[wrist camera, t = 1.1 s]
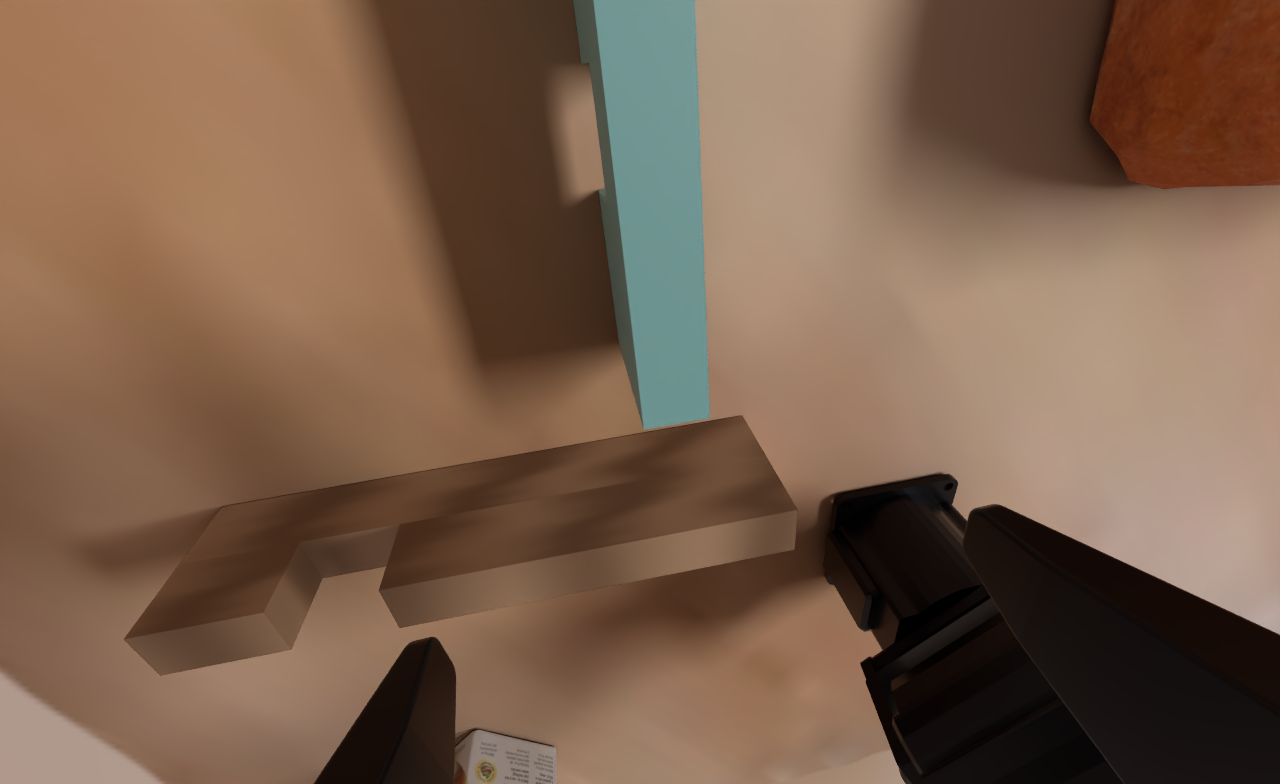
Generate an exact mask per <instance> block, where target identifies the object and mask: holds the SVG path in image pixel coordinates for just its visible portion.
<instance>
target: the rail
mask: <svg viewBox="0 0 1280 784" xmlns="http://www.w3.org/2000/svg"><path fill="white" fill-rule="evenodd" d="M797 512H798V510H797V508H796V506H795V505H794V503H793V501H792V499H791V498H790V496H789V494H788V493H787V491H786V489H785V488H784V486H783V484H782V482H781V481H780V479H779V477H778V476H777V474H776V472H775V470H774V469H773V467H772V465H771V464H770V462H769V460H768V459H767V457H766V455H765V453H764V452H763V450H762V448H761V447H760V445H759V443H758V442H757V440H756V438H755V436H754V435H753V433H752V431H751V430H750V428H749V426H748V425H747V423H746V421H745V419H744V418H743V416H737V417H732V418H726V419H720V420H714V421H709V422H703V423H697V424H692V425H686V426H680V427H674V428H669V429H663V430H657V431H652V432H646V433H640V434H635V435H629V436H623V437H617V438H612V439H606V440H600V441H595V442H589V443H583V444H577V445H572V446H566V447H560V448H555V449H549V450H543V451H538V452H532V453H526V454H520V455H515V456H509V457H503V458H498V459H492V460H486V461H480V462H475V463H469V464H463V465H458V466H452V467H446V468H441V469H435V470H429V471H423V472H418V473H412V474H406V475H401V476H395V477H389V478H384V479H378V480H372V481H366V482H361V483H355V484H349V485H344V486H338V487H332V488H326V489H321V490H315V491H309V492H304V493H298V494H292V495H287V496H281V497H275V498H269V499H264V500H258V501H252V502H247V503H241V504H235V505H229V506H224V507H221V509H220V510H219V511H218V513H217V514H216V515H215V517H214V518H213V520H212V521H211V522H210V524H209V525H208V526H207V528H206V529H205V530H204V532H203V533H202V534H201V536H200V537H199V538H198V540H197V541H196V542H195V544H194V545H193V547H192V548H191V549H190V551H189V552H188V553H187V555H186V556H185V557H184V559H183V560H182V561H181V563H180V564H179V565H178V567H177V568H176V569H175V571H174V572H173V574H172V575H171V576H170V578H169V579H168V580H167V582H166V583H165V584H164V586H163V587H162V588H161V590H160V591H159V592H158V594H157V595H156V596H155V598H154V599H153V600H152V602H151V603H150V605H149V606H148V607H147V609H146V610H145V611H144V613H143V614H142V615H141V617H140V618H139V619H138V621H137V622H136V623H135V625H134V626H133V627H132V629H131V630H130V632H129V633H128V634H127V636H126V637H125V638H124V640H125V641H126V642H127V643H128V644H129V645H130V646H131V647H132V648H133V649H134V650H135V651H136V652H137V653H138V654H139V655H140V656H141V657H142V658H143V659H144V660H145V661H146V662H147V663H148V664H149V665H150V666H151V667H152V668H153V669H154V670H155V671H156V672H157V673H158V674H159V675H160V676H161V675H166V674H171V673H176V672H181V671H186V670H191V669H196V668H201V667H206V666H211V665H216V664H221V663H226V662H231V661H236V660H241V659H246V658H251V657H256V656H262V655H267V654H272V653H277V652H282V651H287V650H291V649H292V647H293V645H294V642H295V640H296V638H297V635H298V633H299V631H300V628H301V626H302V624H303V622H304V619H305V617H306V615H307V612H308V610H309V608H310V606H311V603H312V601H313V599H314V596H315V594H316V592H317V590H318V587H319V585H320V583H321V580H322V578H327V577H332V576H337V575H342V574H348V573H353V572H358V571H364V570H369V569H374V568H380V567H385V566H386V569H385V573H384V576H383V579H382V582H381V585H380V588H379V592H380V593H381V595H382V597H383V599H384V601H385V603H386V604H387V606H388V608H389V610H390V612H391V613H392V615H393V617H394V619H395V621H396V623H397V624H398V626H399V628H403V627H408V626H413V625H418V624H423V623H428V622H433V621H438V620H443V619H448V618H453V617H458V616H463V615H468V614H473V613H478V612H483V611H488V610H493V609H498V608H503V607H508V606H513V605H518V604H523V603H528V602H534V601H539V600H544V599H549V598H554V597H559V596H564V595H569V594H574V593H579V592H584V591H589V590H594V589H599V588H604V587H609V586H614V585H619V584H624V583H629V582H634V581H639V580H644V579H649V578H654V577H659V576H664V575H670V574H675V573H680V572H685V571H690V570H695V569H700V568H705V567H710V566H715V565H720V564H725V563H730V562H735V561H740V560H745V559H750V558H755V557H760V556H765V555H770V554H775V553H780V552H785V551H790V550H795V537H796V525H797Z"/></svg>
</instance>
